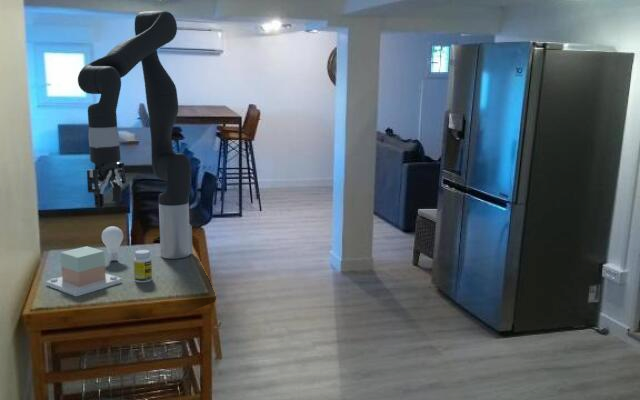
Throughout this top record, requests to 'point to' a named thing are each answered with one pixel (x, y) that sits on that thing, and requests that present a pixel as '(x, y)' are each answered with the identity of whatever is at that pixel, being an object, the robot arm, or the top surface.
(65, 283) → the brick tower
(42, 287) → the top surface
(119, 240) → the lightbulb
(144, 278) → the supplement bottle
